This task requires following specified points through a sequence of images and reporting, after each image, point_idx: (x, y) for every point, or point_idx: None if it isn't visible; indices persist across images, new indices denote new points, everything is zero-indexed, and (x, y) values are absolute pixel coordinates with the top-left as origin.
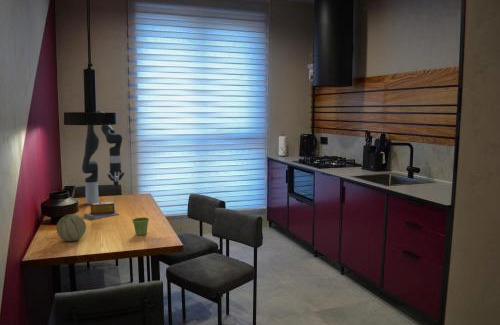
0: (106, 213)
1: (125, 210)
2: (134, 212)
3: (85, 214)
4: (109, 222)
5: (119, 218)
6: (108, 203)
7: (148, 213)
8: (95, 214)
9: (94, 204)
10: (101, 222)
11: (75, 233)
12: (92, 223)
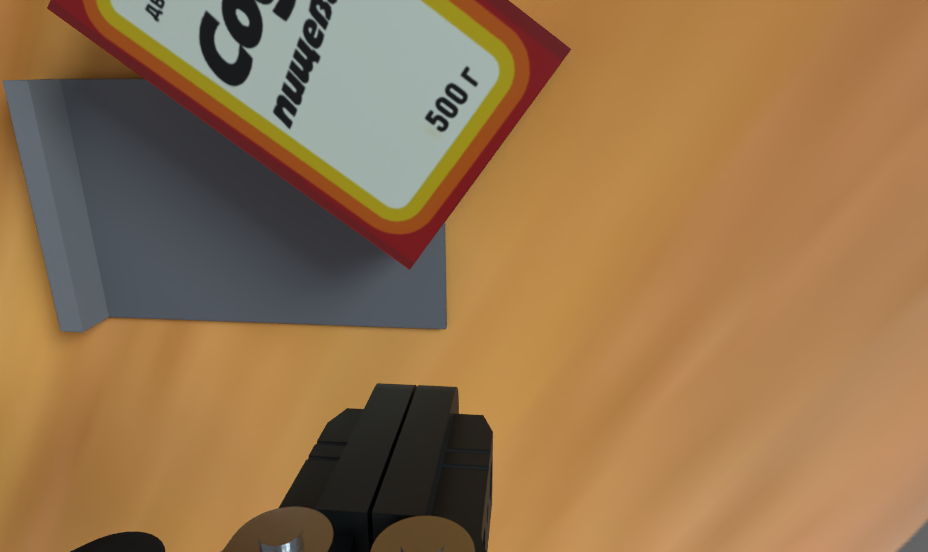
0: None
1: (667, 164)
2: (659, 376)
3: (19, 128)
4: (193, 536)
5: None
6: (345, 168)
7: (729, 547)
8: None
9: (124, 10)
10: (130, 478)
11: None
12: (44, 444)
